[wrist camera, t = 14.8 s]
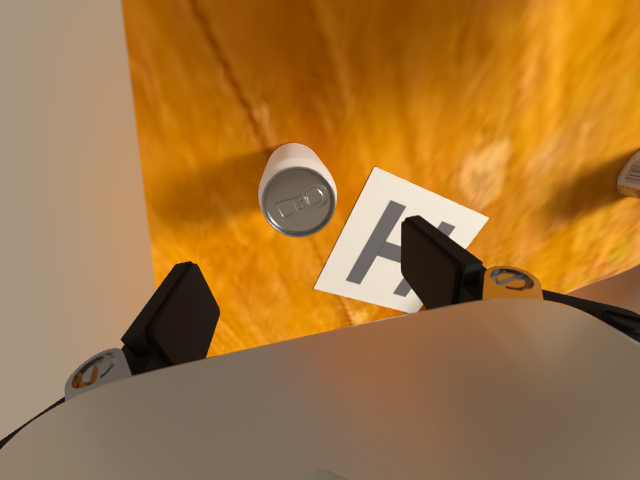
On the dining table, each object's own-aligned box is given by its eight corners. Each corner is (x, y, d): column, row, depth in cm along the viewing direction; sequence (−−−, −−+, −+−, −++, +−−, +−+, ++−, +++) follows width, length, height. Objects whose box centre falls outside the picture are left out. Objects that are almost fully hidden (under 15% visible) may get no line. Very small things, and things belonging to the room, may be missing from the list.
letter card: (374, 166, 29) (374, 166, 29) (488, 217, 35) (489, 217, 35) (313, 288, 37) (313, 288, 37) (415, 313, 43) (415, 314, 43)
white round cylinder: (328, 184, 30) (352, 223, 19) (282, 205, 30) (279, 253, 20) (308, 132, 27) (323, 144, 16) (256, 156, 27) (238, 183, 17)
